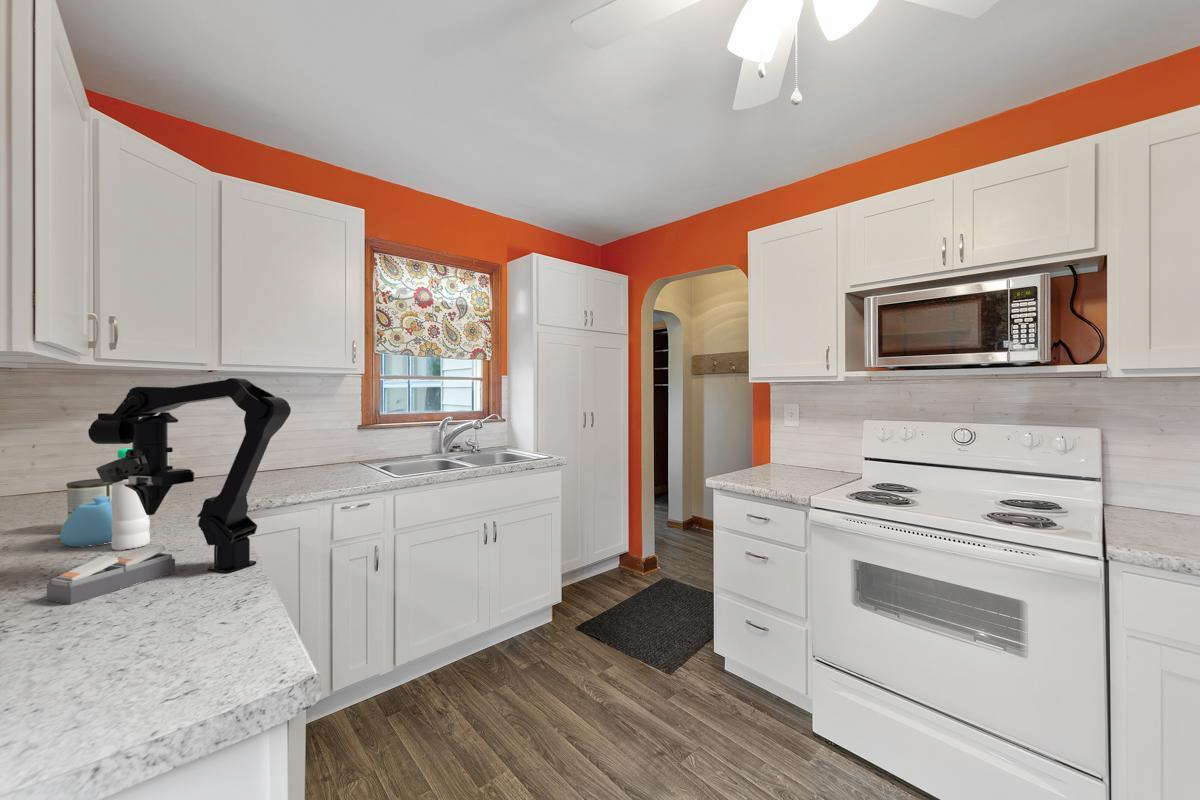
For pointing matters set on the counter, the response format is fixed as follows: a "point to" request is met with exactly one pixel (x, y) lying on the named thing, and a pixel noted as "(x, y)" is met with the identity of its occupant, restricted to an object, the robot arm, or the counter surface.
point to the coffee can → (86, 492)
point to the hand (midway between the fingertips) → (150, 514)
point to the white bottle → (128, 516)
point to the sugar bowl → (89, 524)
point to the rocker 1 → (89, 568)
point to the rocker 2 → (140, 555)
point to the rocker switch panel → (109, 579)
